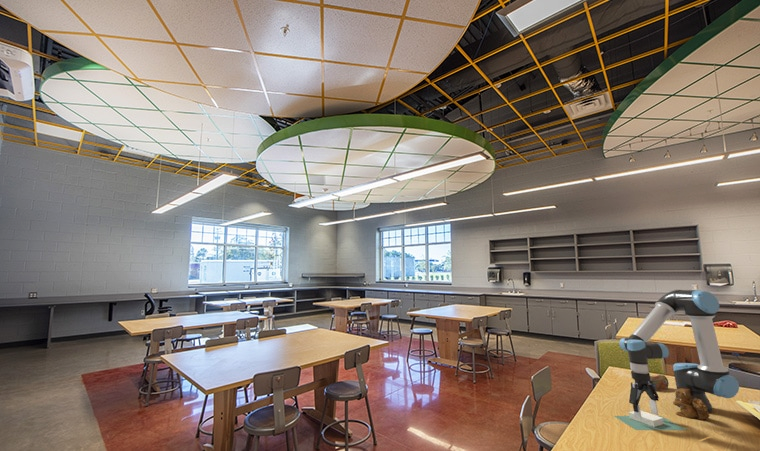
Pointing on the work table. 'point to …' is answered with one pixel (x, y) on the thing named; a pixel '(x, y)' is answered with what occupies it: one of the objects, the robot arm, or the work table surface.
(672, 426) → the mat
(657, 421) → the card box
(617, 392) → the work table surface
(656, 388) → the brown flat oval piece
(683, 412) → the stuffed squirrel
